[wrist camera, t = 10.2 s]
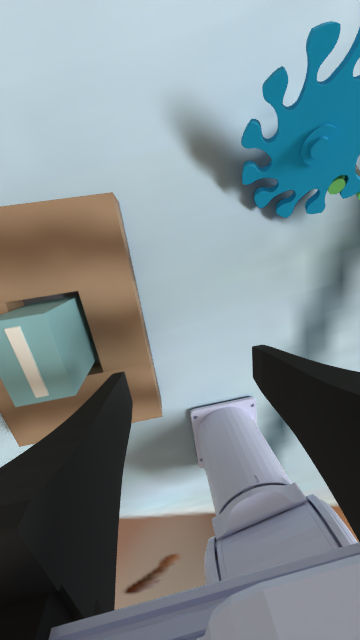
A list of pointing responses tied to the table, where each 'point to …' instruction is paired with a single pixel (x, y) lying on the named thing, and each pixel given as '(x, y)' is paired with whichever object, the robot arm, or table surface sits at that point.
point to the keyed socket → (95, 293)
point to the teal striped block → (45, 350)
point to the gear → (311, 131)
